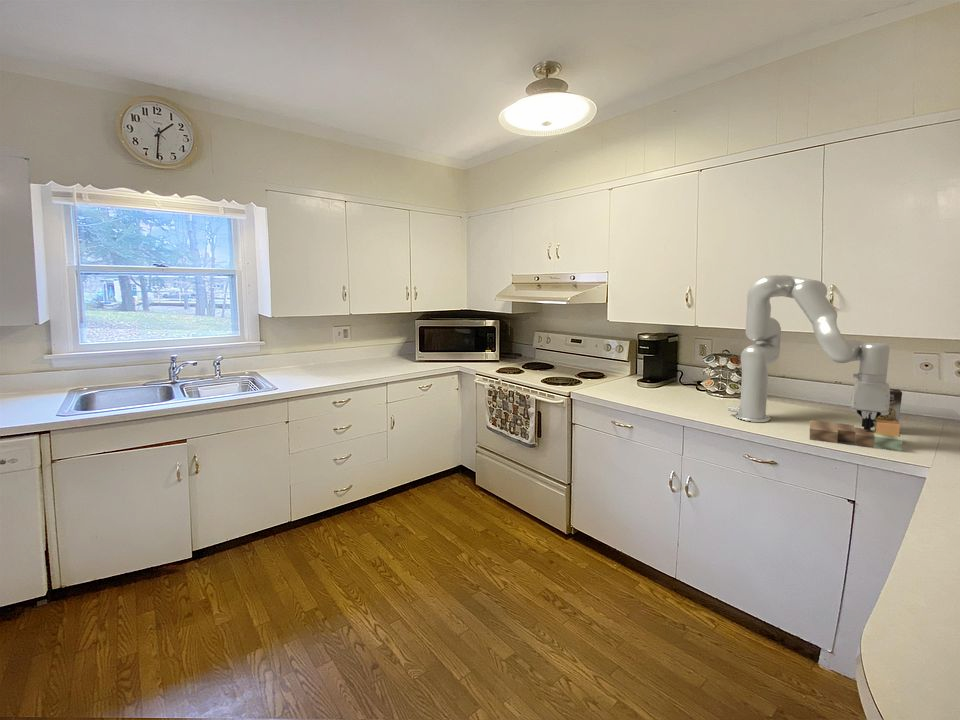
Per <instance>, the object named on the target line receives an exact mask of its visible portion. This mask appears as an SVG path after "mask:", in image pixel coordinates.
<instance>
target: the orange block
mask: <svg viewBox="0 0 960 720" xmlns="http://www.w3.org/2000/svg"><path fill="white" fill-rule="evenodd" d="M900 429H901V424H900V422H896V421H886V420H877V419H876V423H875V433H876V434H880V435H888V436H896V437H899V435H900Z"/></svg>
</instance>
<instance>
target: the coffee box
mask: <svg viewBox="0 0 960 720" xmlns="http://www.w3.org/2000/svg"><path fill="white" fill-rule="evenodd" d="M902 396H903V392H902V391H901V389H897V388H890V403H889V410H888V411H889V414H888V415H880V416H878V417H877V418H875V419H874V422H873V427H875V423H876V419H877V420H886V421H896V422H899V421H900V414H901V407H902V398H903V397H902ZM870 414H871V411H866V416H867V418H869V416H870ZM899 423H900V422H899ZM870 429H871V428H870Z"/></svg>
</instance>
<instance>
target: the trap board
mask: <svg viewBox="0 0 960 720" xmlns="http://www.w3.org/2000/svg"><path fill="white" fill-rule="evenodd" d="M809 423H810V424H809V440H811V441H819V442H826V443H831V444H832V443H833V444H840V445H849V446H857V447H864V448H871V449H876V450H877V449H879V450H885V449H886V451H892V450H893V451H894V452H900V451H901V452H902V447H903V446H902V445H903V439H902V437H901V435H900V434H899V437H896V436H888V435H880V434H876V433H875V427H873V428H871V429H870V430H868V429H867V430H864V427H855V426H854V424H850V423H848V424H847V423H839V422H831V421H821V420H812V419H811V420H810V422H809Z"/></svg>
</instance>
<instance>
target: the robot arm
mask: <svg viewBox="0 0 960 720" xmlns="http://www.w3.org/2000/svg"><path fill="white" fill-rule="evenodd" d="M827 294H828V287H827V285H826V284H825V283H824V282H822V281H820V280H817V279H811V278H809V279H808V278H805V277H804V278H803V277H797V276H792V275H787V274H786V275H785V274H784V275H783V274H780V275H779V274H773V275H768V276H767V275H766V276H763V277H761V278H759V279H757V280H755V282H753V283H752V284H751V285H750V287H749V289H748V292H747V298H746V299H747V300H746V315H745V316H746V317H745V318H746V321H745V336H746V337H747V339H749V340H750V341H752V342H753V341H754V342H755V344H751V345H748V346H746V347H745V348H744V349H743V350H742V352H741V353H740V367H741V387H740V402H739V406H736V407H735V406H728V409H727V411H729V412H730V413H735V414H734V416H736V417H737V418H736V417H735V418H736V419H738V418H739V419H738V420H740V419H742V420H741V421H743V420H745V422H748V421H751V423H766V422H769V421H771V420H770V419H771V418H770V416H769V415H767V401H768V399H767V398H768V386H769V374H768V367H767V366H769V365H772V364H774V363H775V362H776V361H778V359H779V358H780V354H781V353H780V352H781V338H782V337H781V336H782V328H781V324H780V323H779V321H778V320H777V319H775V318H774V317H771V312H772V311H771V310H772V306H771V298H779V297H784V298H789V299H794V301H795V303H797V305H798V306H799V308H800V309H801V310H802V312H803V313H804V315H805V316H806V318H807V320H809V322H810V323H811V325H812V330H813V333H814V336H815V338H816V340H817V342H818V344H819V346H820V348H821V349H822V350H823V351H824V353H825V354H826V355H827V357H828V358H829V359H830V360H831V361H832V362H834V363H836V364H838V363H839V364H846V363H850V362H856V361H859V366H858V367H859V368H858V372H857V373H853V375H852V377H853V379H854V378H855V379H856V380H855V381H854V385H853V389H852V392H851V399H850V407H849V411H850V412H853V413H856V414H858V416H860V417H861V419H862V420H861V428H863V429H864V430H867V429H868V430H870V428H873V422H874V419H875V418H877V417H878V416H880V415H888V414H889V411H888V410H889V403H890V389H891V388H890V383H889V382H887V378H888V377H887V376H888V370H889V369H888V368H889V359H890V358H889V357H890V346H889V345H888V344H887V343H882V342H865V341H859V340H852V339H850V340H846V338H845V337H844V336H843V335H842V333H841V331H840V330H839V328H838V323H837V318H838V311H837V310H836V309H835V307H834V306H833V304H832V303H831V302H830V301H829V299H828V298H827V297H826V296H827ZM866 411H871V414H870V416H869V418H867V416H866Z"/></svg>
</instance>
